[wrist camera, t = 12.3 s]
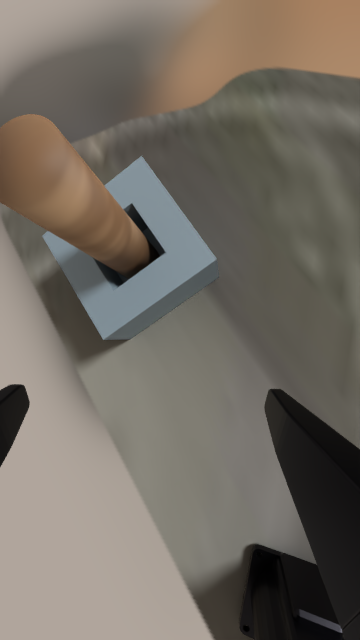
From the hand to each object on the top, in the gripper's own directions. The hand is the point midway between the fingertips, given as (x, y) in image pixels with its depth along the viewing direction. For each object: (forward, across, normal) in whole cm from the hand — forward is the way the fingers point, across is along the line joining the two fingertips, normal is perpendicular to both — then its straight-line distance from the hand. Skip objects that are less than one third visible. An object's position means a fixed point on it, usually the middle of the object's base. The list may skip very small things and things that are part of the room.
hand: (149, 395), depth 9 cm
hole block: (+16, +2, -1) cm, 16 cm away
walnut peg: (+15, +2, -1) cm, 15 cm away
